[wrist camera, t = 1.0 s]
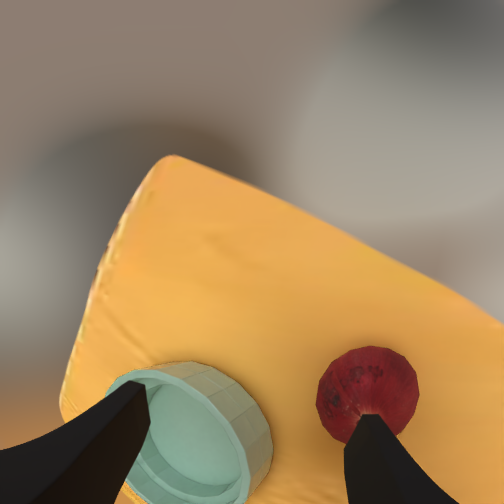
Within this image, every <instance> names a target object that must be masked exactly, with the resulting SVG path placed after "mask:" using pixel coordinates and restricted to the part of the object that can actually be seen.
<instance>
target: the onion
mask: <svg viewBox="0 0 504 504" xmlns="http://www.w3.org/2000/svg"><path fill="white" fill-rule="evenodd" d="M418 398H419V388H418V381H417V375H416V372H415V370H414V369H413V368H412V366H411V365H410V364H409V362H408V361H407V360H406V358H405V357H404V356H402V355H400V354H398V353H396V352H394V351H392V350H391V349H388V348H382V347H375V346H367V347H363V348H358V349H353V350H350V351H348V352H347V353H345V354H344V355H342V356H341V357H339V358H338V359H336V360H334V361H333V362H331V364H330V365H329V367H328V369H327V370H326V372H325V373H324V375H323V376H322V378H321V379H320V381H319V385H318V392H317V399H316V407H317V410H318V413H319V416H320V419H321V422H322V425H323V426H324V428H325V429H326V430H327V431H328V432H329V433H330V434H331V436H332V437H333V438H334V439H336V440H338V441H341V442H343V443H345V444H347V443H348V441H349V439H350V437H351V435H352V433H353V431H354V430H355V428H356V426H357V424H358V422H359V420H360V418H361V416H362V414H379V415H380V416H381V418H382V419H383V420H384V422H385V423H386V424H387V426H388V427H389V428H390V430H391V431H392V432H393V434H394V435H395V436H396V435H397V434H399V433H400V432H401V431H402V430H403V429H404V428H405V426H406V425H407V423H408V422H409V421H410V419H411V418H412V416H413V415H414V412H415V409H416V406H417V402H418Z"/></svg>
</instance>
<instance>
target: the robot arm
mask: <svg viewBox="0 0 504 504" xmlns="http://www.w3.org/2000/svg"><path fill="white" fill-rule="evenodd" d="M150 424H151V420H150V414H149V407H148V401H147V394H146V387H145V384H141V383H138V382H134V381H131V380H128V381H127V382H125V383H124V384H122V385H121V386H120V387H118V388H117V389H116V390H114V391H113V392H112V393H110V394H109V395H108V396H106V397H105V398H104V399H102V400H101V401H100V402H98V403H97V404H95V405H94V406H92V407H91V408H89V409H88V410H87V411H85V412H84V413H82V414H81V415H79V416H78V417H76V418H74V419H73V420H71V421H69V422H68V423H66V424H64V425H63V426H61V427H59V428H57V429H55V430H53V431H51V432H49V433H47V434H45V435H43V436H41V437H39V438H36V439H34V440H31V441H29V442H26V443H23V444H20V445H17V446H14V447H11V448H8V449H3V450H0V504H114V502H115V500H116V498H117V495H118V493H119V491H120V489H121V487H122V485H123V483H124V481H125V479H126V478H127V476H128V474H129V472H130V470H131V468H132V466H133V464H134V462H135V460H136V458H137V456H138V454H139V452H140V451H141V449H142V447H143V444H144V441H145V439H146V436H147V433H148V430H149V427H150ZM344 474H345V481H346V488H347V495H348V502H349V504H459V503H458V502H456V501H455V500H454V499H453V498H451V497H450V496H449V495H448V494H447V493H446V492H444V491H443V490H442V489H441V488H440V487H439V486H438V485H437V484H436V483H435V482H434V481H433V480H432V479H431V478H430V477H429V476H428V475H427V474H426V473H425V472H424V471H423V470H422V469H421V467H420V466H419V465H418V464H417V463H416V462H415V460H414V459H413V458H412V457H411V456H410V454H409V453H408V452H407V451H406V449H405V448H404V447H403V446H402V444H401V443H400V442H399V440H398V439H397V438H396V436H395V435H394V434H393V432H392V431H391V430H390V428H389V427H388V426H387V424H386V423H385V422H384V420H383V419H382V418H381V416H380V415H379V414H362V416H361V418H360V420H359V422H358V424H357V426H356V428H355V430H354V431H353V433H352V435H351V437H350V439H349V441H348V443H347V444H346V446H345V448H344Z"/></svg>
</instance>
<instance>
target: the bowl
mask: <svg viewBox="0 0 504 504" xmlns="http://www.w3.org/2000/svg"><path fill="white" fill-rule="evenodd" d="M128 380H131V381H134V382H138V383H141V384H145V387H146V394H147V401H148V407H149V414H150V420H151V424H150V427H149V430H148V433H147V436H146V439H145V441H144V444H143V447H142V449H141V451H140V452H139V454H138V456H137V458H136V460H135V462H134V464H133V466H132V468H131V470H130V472H129V474H128V476H127V478H126V479H125V481H126V483H127V484H128V485H129V486H130V488H131V489H132V490H133V491H134V492H135V493H136V494H137V495H138V496H140V497H141V498H142V499H143V500H144V501H146V502H147V503H148V504H244V503H245V502H246V501H247V500H248V498H249V497H250V496H251V495H252V493H253V492H254V491H255V490H256V488H257V487H258V486H259V484H260V483H261V482H262V480H263V479H264V478H265V476H266V475H267V474H268V472H269V470H270V465H271V460H272V456H273V444H272V439H271V433H270V427H269V425H268V423H267V421H266V419H265V417H264V415H263V413H262V412H261V410H260V408H259V406H258V404H257V403H256V401H255V400H254V399H253V398H252V397H251V396H250V395H249V394H248V393H247V392H246V391H245V390H244V389H243V388H242V386H241V385H240V384H239V383H237V382H236V381H235V380H233V379H231V378H230V377H228V376H227V375H225V374H223V373H222V372H220V371H219V370H217V369H215V368H214V367H210V366H207V365H203V364H200V363H196V362H193V361H184V362H170V363H165V364H160V365H156V366H151V367H146V368H141V369H136V370H133V371H131V372H128V373H126V374H124V375H122V376H120V377H118V378H117V379H116V380H115V382H114V383H113V384H112V385H111V387H110V388H109V389H108V391H107V392H106V395H105V397H106V396H108V395H109V394H110V393H112V392H113V391H114V390H116V389H117V388H118V387H120V386H121V385H122V384H124V383H125V382H127V381H128Z"/></svg>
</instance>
